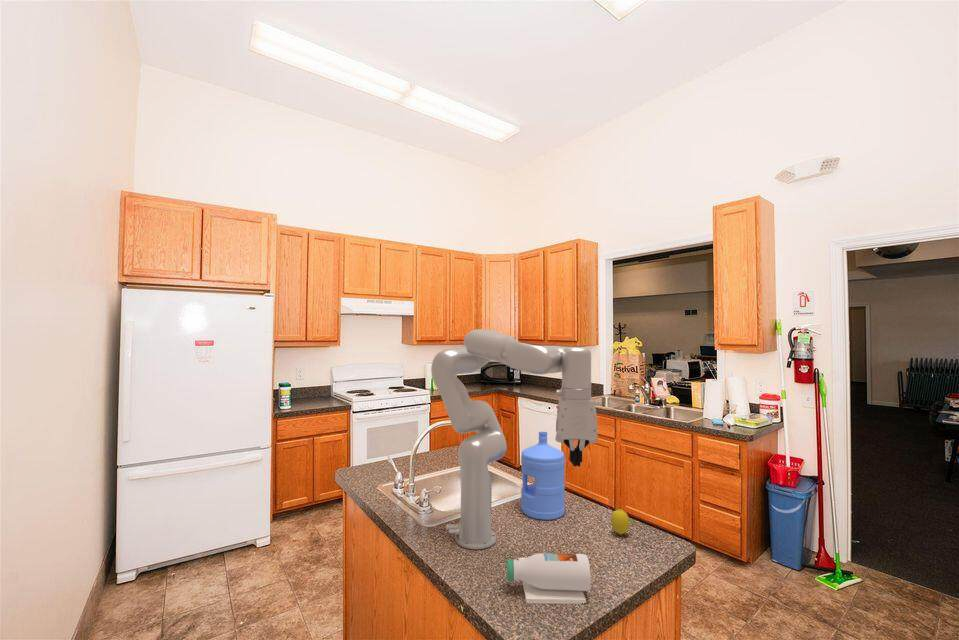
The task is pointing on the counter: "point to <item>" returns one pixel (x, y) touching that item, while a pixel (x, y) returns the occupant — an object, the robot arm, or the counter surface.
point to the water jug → (543, 481)
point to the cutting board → (551, 595)
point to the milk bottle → (552, 571)
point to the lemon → (620, 521)
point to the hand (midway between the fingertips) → (575, 464)
